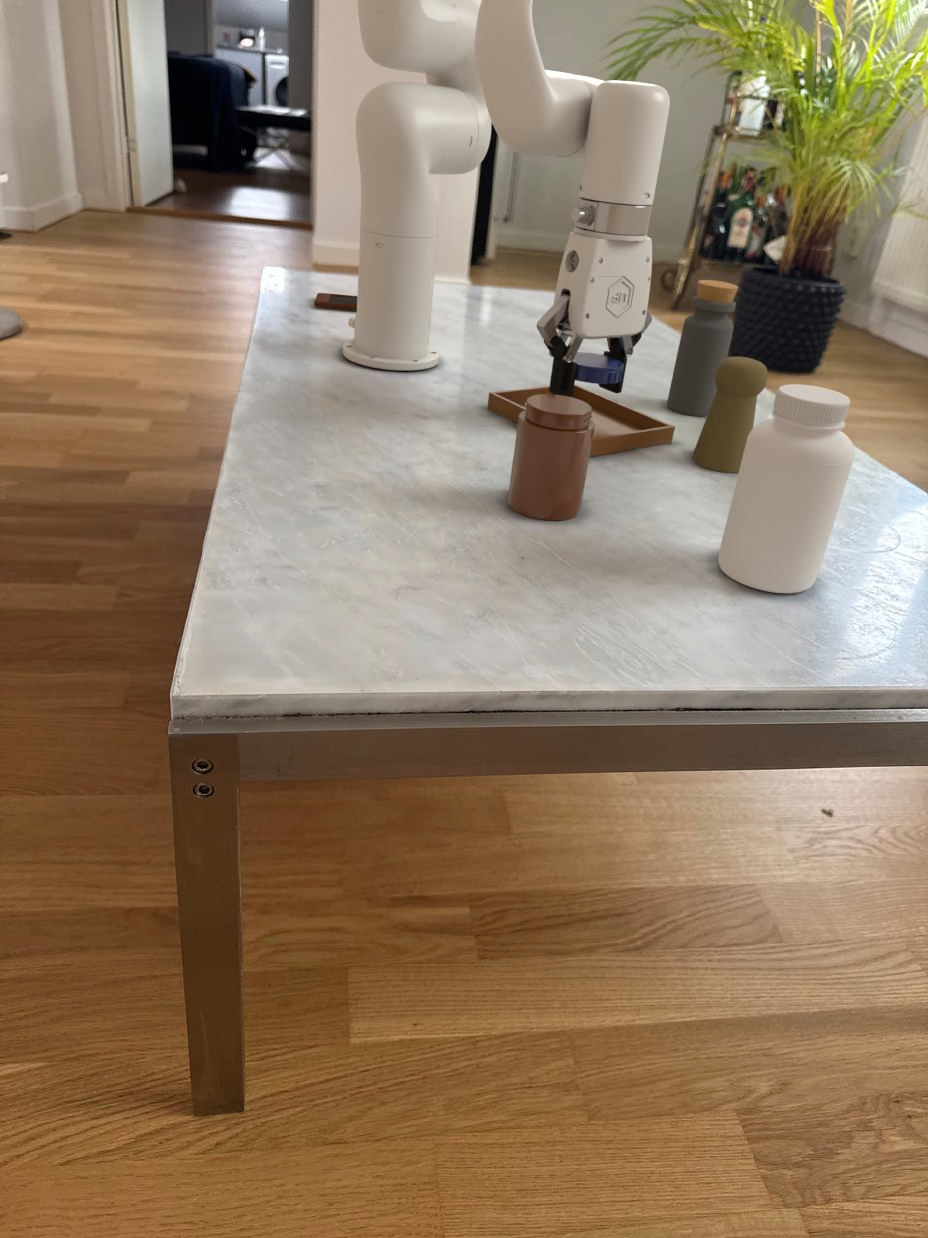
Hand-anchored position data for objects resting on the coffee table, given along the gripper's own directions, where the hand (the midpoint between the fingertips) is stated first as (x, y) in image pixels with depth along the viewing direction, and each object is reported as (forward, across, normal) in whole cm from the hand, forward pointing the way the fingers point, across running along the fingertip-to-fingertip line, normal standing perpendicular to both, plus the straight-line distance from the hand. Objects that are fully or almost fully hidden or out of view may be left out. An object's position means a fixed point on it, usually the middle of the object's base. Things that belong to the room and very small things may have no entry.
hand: (585, 391), depth 105 cm
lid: (-3, 0, 0) cm, 3 cm away
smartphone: (+3, +6, +57) cm, 58 cm away
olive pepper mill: (+4, +7, -15) cm, 17 cm away
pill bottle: (+5, -11, -35) cm, 37 cm away
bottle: (+4, +19, 0) cm, 19 cm away
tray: (+4, 0, 0) cm, 4 cm away
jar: (+4, -19, -16) cm, 26 cm away
